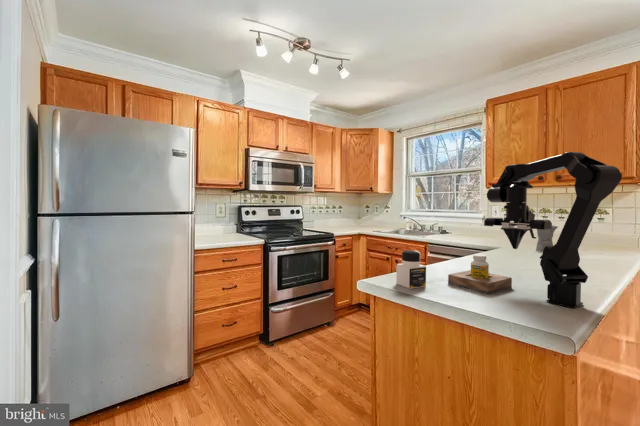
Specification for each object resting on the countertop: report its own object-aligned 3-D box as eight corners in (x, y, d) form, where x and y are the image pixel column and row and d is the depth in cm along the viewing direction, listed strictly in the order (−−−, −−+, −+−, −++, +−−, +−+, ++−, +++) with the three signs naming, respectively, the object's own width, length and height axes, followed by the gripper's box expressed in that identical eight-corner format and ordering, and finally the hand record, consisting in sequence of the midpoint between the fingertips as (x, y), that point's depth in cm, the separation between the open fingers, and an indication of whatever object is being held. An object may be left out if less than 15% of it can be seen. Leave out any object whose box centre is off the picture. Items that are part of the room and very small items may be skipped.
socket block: (511, 288, 101) (511, 277, 101) (488, 294, 94) (488, 283, 93) (471, 279, 113) (471, 269, 113) (448, 284, 105) (448, 274, 105)
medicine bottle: (409, 289, 100) (409, 253, 99) (395, 283, 106) (396, 250, 106) (426, 286, 102) (426, 251, 102) (412, 281, 109) (412, 248, 109)
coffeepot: (552, 250, 184) (553, 220, 183) (562, 252, 175) (562, 221, 174) (524, 249, 187) (525, 220, 186) (532, 251, 178) (533, 221, 177)
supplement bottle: (488, 282, 104) (489, 254, 104) (488, 286, 99) (488, 257, 99) (471, 280, 107) (471, 253, 106) (470, 284, 102) (470, 255, 102)
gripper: (560, 202, 97) (559, 250, 98) (500, 202, 113) (499, 244, 114) (544, 202, 91) (542, 253, 92) (483, 202, 107) (482, 246, 108)
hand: (515, 248), depth 102 cm, fingers closed
